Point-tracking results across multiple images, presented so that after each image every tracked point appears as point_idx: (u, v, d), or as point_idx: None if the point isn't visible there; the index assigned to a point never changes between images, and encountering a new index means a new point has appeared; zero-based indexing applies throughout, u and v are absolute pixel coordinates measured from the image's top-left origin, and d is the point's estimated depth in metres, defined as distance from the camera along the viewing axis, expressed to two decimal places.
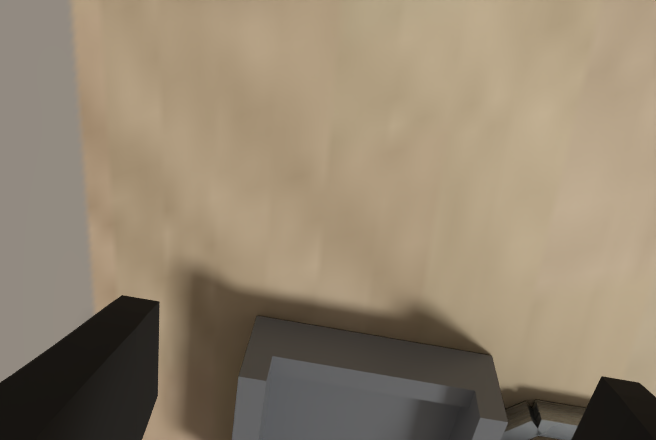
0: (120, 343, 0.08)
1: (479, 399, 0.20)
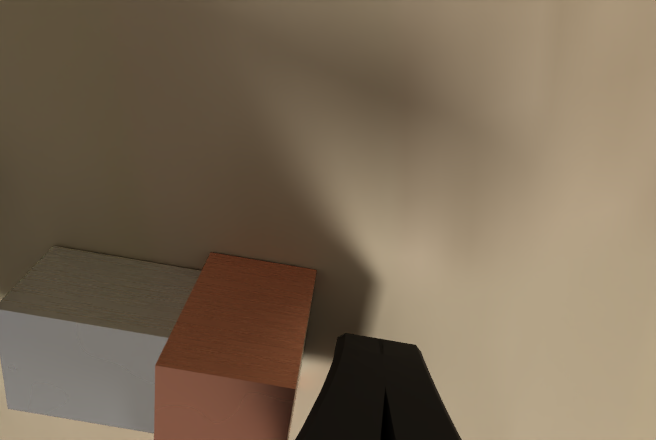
0: (383, 387, 0.08)
1: None
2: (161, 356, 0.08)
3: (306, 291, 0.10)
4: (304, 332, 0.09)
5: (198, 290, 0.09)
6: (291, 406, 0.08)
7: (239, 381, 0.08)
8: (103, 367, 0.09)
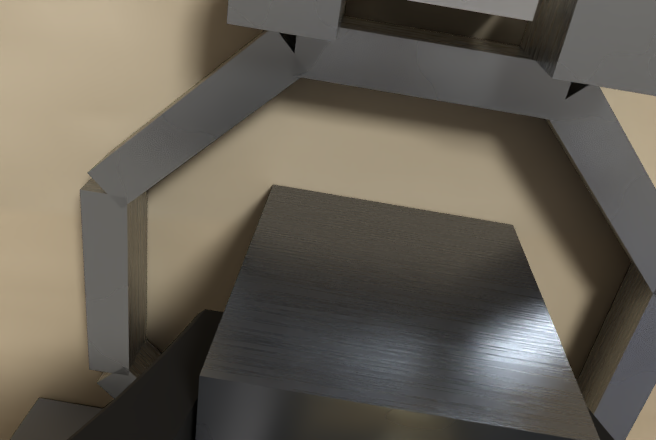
0: None
1: None
2: None
3: None
4: None
5: None
6: None
7: None
8: None
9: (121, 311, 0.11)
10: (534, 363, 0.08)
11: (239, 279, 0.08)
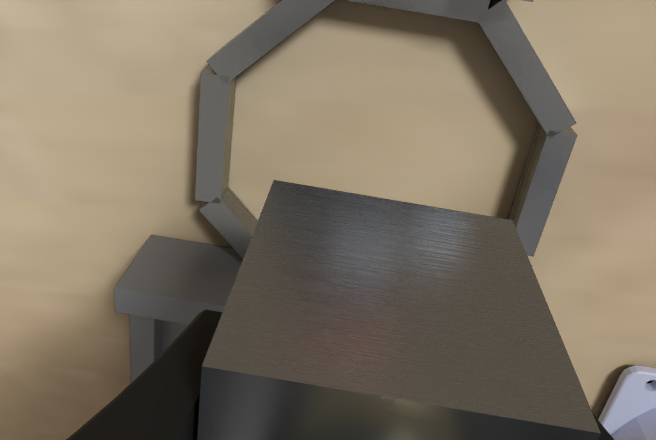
0: None
1: None
2: None
3: None
4: None
5: None
6: None
7: None
8: None
9: (219, 156, 0.18)
10: (534, 355, 0.08)
11: (241, 272, 0.08)
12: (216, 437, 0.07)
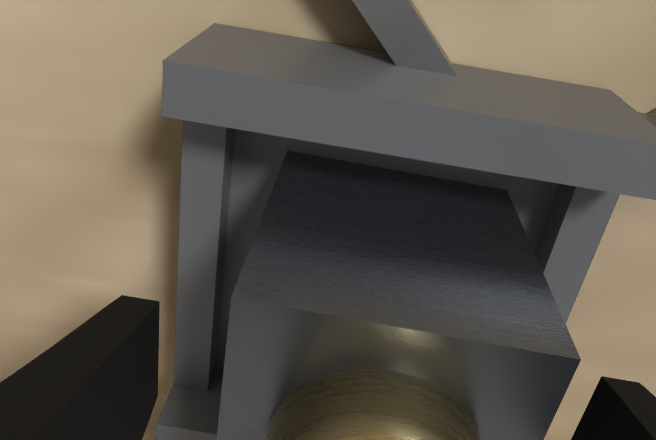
0: (119, 343, 0.08)
1: None
2: None
3: None
4: None
5: None
6: None
7: None
8: None
9: None
10: (523, 298, 0.09)
11: (261, 225, 0.09)
12: (241, 365, 0.08)
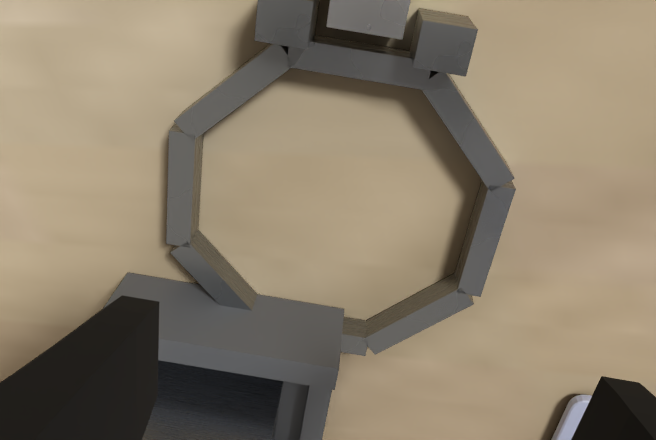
0: (119, 343, 0.08)
1: None
2: None
3: None
4: None
5: None
6: None
7: None
8: None
9: (187, 205, 0.19)
10: None
11: None
12: None
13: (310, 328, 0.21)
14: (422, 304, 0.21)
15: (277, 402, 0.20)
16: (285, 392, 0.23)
